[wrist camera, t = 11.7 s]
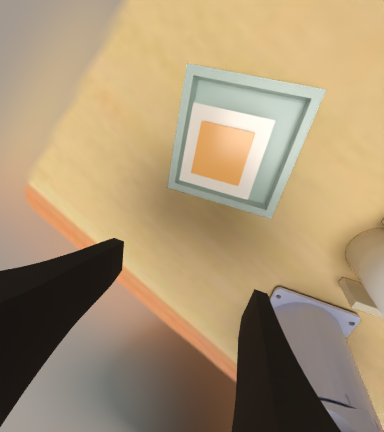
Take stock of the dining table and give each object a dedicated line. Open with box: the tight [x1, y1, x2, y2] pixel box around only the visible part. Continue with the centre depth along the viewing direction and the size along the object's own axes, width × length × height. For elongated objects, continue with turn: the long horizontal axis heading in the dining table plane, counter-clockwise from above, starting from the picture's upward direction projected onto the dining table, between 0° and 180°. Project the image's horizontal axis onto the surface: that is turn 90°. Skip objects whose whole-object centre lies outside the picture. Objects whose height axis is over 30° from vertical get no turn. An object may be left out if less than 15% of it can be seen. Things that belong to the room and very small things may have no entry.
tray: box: [167, 63, 326, 219], centre depth 16 cm, size 9×9×2 cm
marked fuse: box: [179, 102, 276, 200], centre depth 14 cm, size 4×4×7 cm
